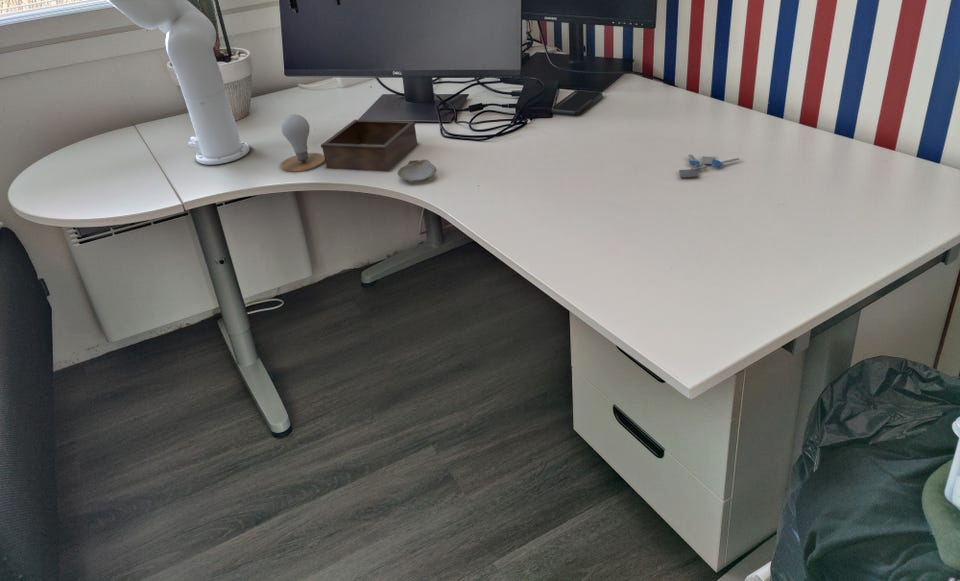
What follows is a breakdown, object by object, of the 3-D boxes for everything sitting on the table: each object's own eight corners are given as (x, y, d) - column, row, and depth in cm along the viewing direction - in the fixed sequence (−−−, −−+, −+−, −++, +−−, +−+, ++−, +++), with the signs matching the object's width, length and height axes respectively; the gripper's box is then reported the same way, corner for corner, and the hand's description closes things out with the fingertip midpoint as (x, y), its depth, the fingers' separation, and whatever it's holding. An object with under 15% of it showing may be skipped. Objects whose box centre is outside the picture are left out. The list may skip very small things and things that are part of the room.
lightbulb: (319, 162, 168) (308, 116, 162) (292, 169, 166) (280, 122, 161) (314, 154, 173) (303, 108, 167) (288, 160, 171) (276, 114, 165)
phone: (549, 108, 181) (576, 89, 192) (550, 113, 182) (576, 94, 192) (579, 111, 177) (604, 92, 188) (579, 116, 178) (604, 96, 188)
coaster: (273, 170, 168) (272, 169, 168) (296, 153, 176) (296, 152, 175) (311, 173, 164) (310, 171, 164) (333, 155, 172) (332, 154, 172)
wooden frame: (325, 168, 166) (320, 144, 163) (358, 141, 178) (354, 119, 175) (388, 171, 161) (384, 147, 158) (418, 144, 173) (415, 121, 170)
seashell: (400, 192, 155) (434, 184, 152) (393, 181, 153) (428, 172, 150) (408, 170, 161) (441, 162, 158) (402, 159, 159) (435, 150, 156)
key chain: (688, 181, 142) (688, 177, 141) (658, 169, 148) (658, 165, 147) (740, 161, 147) (740, 157, 147) (709, 150, 153) (709, 146, 153)
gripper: (333, -83, 163) (348, -1, 172) (256, -71, 158) (275, 12, 167) (343, -81, 157) (358, 3, 166) (262, -69, 152) (282, 18, 161)
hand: (316, 8), depth 167 cm, fingers open, 9 cm apart
